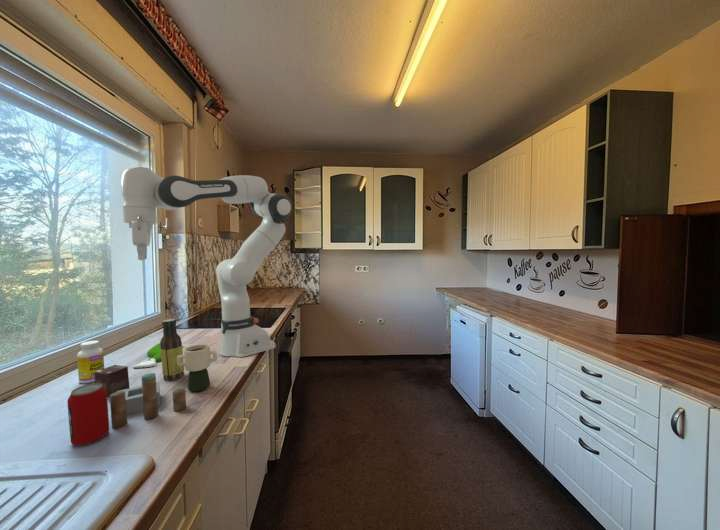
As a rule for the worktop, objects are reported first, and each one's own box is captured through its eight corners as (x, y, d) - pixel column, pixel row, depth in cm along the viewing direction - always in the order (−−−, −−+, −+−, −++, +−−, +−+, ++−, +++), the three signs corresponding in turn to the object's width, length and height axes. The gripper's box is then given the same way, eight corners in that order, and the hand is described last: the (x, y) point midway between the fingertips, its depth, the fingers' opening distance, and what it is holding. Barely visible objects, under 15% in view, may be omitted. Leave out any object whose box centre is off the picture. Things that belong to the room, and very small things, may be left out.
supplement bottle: (89, 384, 99) (86, 346, 99) (73, 383, 101) (70, 345, 100) (110, 376, 106) (107, 340, 105) (94, 375, 107) (92, 339, 107)
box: (130, 389, 96) (128, 366, 95) (109, 398, 90) (107, 374, 90) (116, 386, 98) (115, 364, 97) (95, 395, 92) (93, 371, 92)
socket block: (159, 394, 91) (159, 381, 91) (160, 406, 85) (159, 392, 85) (117, 404, 86) (116, 391, 86) (114, 417, 79) (113, 402, 79)
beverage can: (87, 430, 74) (83, 382, 73) (116, 428, 74) (113, 381, 74) (62, 449, 67) (57, 396, 66) (95, 447, 68) (91, 394, 67)
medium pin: (127, 420, 78) (125, 389, 78) (126, 425, 76) (124, 394, 75) (112, 424, 76) (110, 393, 76) (111, 430, 74) (108, 398, 73)
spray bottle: (184, 346, 138) (161, 368, 114) (157, 349, 136) (128, 371, 112) (183, 340, 138) (160, 361, 114) (156, 342, 135) (127, 363, 111)
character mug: (219, 380, 100) (217, 341, 100) (217, 389, 94) (215, 348, 93) (181, 386, 96) (178, 346, 96) (176, 397, 90) (174, 353, 89)
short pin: (185, 404, 85) (184, 387, 85) (186, 409, 83) (185, 391, 82) (173, 408, 84) (172, 390, 83) (173, 413, 81) (172, 394, 81)
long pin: (158, 412, 82) (155, 372, 81) (158, 417, 79) (155, 376, 78) (144, 415, 80) (141, 375, 79) (144, 421, 77) (141, 379, 77)
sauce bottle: (188, 373, 107) (184, 317, 106) (178, 381, 101) (174, 321, 99) (169, 374, 107) (166, 318, 105) (158, 382, 100) (154, 322, 99)
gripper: (150, 214, 93) (153, 260, 94) (152, 220, 110) (155, 258, 111) (124, 213, 89) (127, 260, 90) (131, 220, 107) (133, 259, 107)
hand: (142, 259), depth 101 cm, fingers open, 8 cm apart
